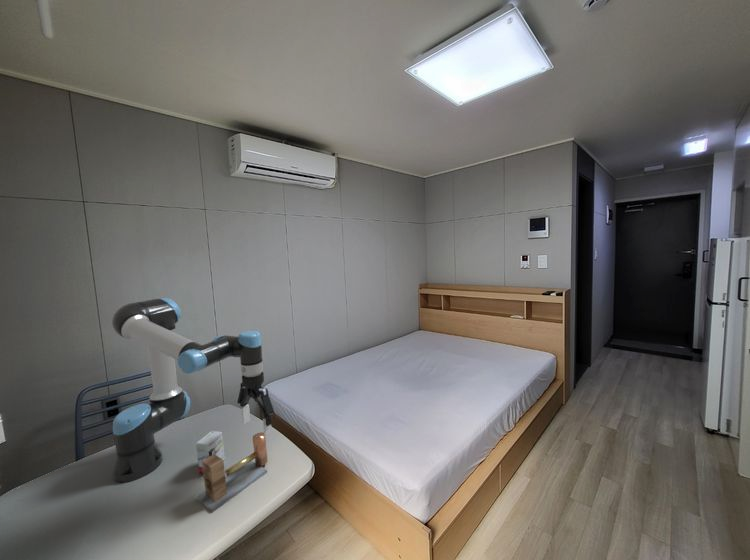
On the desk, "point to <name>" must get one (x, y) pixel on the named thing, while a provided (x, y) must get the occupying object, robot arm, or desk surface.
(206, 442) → the ink box
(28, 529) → the desk surface
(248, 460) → the copper-capped brass rod
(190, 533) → the desk surface
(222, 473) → the eye post
